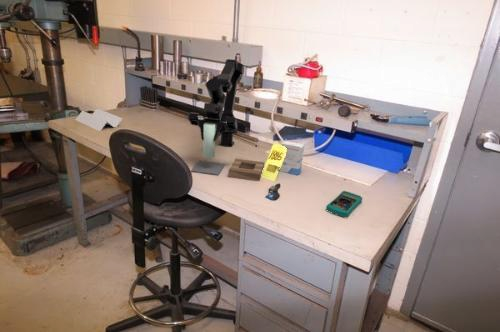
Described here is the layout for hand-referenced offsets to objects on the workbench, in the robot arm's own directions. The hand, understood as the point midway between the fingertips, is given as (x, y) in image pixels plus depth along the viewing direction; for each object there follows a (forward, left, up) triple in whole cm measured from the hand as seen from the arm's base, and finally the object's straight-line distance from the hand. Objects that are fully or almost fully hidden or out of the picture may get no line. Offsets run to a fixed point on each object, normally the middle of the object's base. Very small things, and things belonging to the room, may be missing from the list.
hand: (208, 140), depth 132 cm
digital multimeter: (+14, +52, -13) cm, 56 cm away
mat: (-1, 0, -12) cm, 12 cm away
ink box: (-9, +32, -12) cm, 36 cm away
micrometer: (+11, +28, -13) cm, 33 cm away
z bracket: (-40, -72, -13) cm, 83 cm away
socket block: (-2, +15, -12) cm, 20 cm away
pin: (-1, 0, -7) cm, 7 cm away
